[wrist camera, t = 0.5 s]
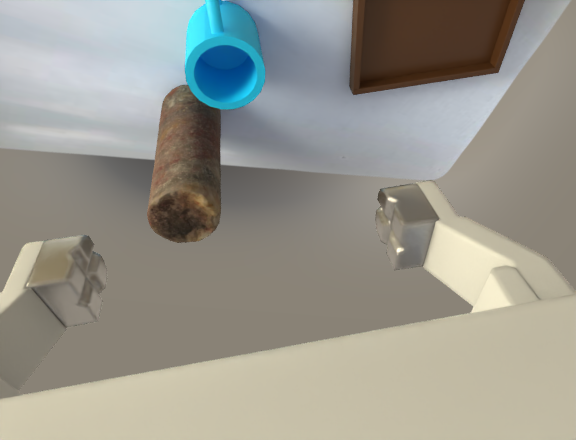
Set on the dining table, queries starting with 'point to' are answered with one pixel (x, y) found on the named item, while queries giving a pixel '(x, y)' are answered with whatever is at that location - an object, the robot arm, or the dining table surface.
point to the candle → (186, 169)
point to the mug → (223, 56)
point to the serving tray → (427, 41)
